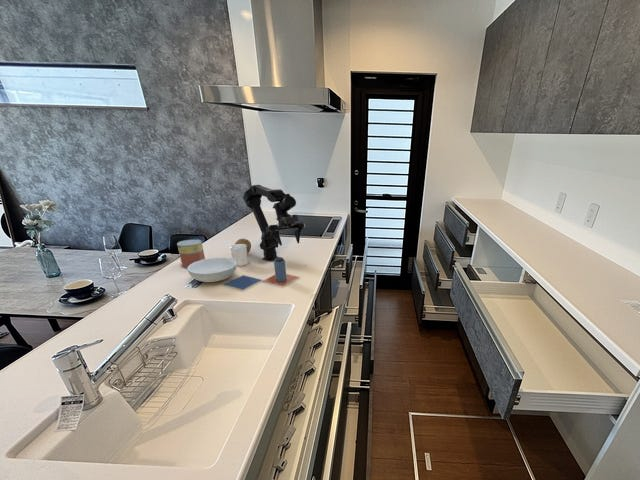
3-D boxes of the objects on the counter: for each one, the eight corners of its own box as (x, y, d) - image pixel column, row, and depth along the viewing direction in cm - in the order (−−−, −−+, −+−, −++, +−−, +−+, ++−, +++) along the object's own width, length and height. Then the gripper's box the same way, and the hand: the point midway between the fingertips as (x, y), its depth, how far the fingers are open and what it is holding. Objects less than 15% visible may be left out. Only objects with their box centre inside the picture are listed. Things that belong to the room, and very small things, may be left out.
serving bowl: (182, 288, 134) (179, 274, 132) (199, 270, 153) (196, 257, 151) (232, 286, 138) (230, 272, 135) (242, 269, 157) (240, 256, 154)
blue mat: (223, 285, 138) (223, 284, 138) (243, 276, 149) (243, 275, 148) (243, 290, 134) (242, 289, 134) (262, 280, 144) (262, 279, 144)
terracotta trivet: (262, 282, 143) (262, 281, 143) (279, 273, 153) (279, 272, 153) (282, 287, 138) (282, 286, 138) (298, 277, 148) (298, 277, 148)
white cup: (251, 262, 166) (249, 244, 162) (241, 267, 159) (239, 249, 155) (240, 260, 168) (237, 243, 164) (229, 265, 162) (226, 247, 158)
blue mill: (273, 281, 143) (271, 259, 139) (280, 277, 147) (278, 256, 143) (282, 283, 141) (279, 260, 137) (288, 279, 145) (286, 257, 141)
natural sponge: (242, 259, 171) (239, 241, 167) (232, 255, 175) (229, 239, 171) (255, 254, 178) (253, 238, 174) (245, 251, 182) (243, 235, 178)
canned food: (184, 261, 165) (179, 240, 160) (207, 259, 168) (203, 238, 163) (179, 268, 155) (174, 246, 150) (204, 266, 158) (199, 244, 154)
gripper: (269, 209, 139) (277, 242, 139) (305, 207, 150) (313, 238, 150) (262, 217, 148) (269, 248, 148) (297, 215, 159) (304, 243, 159)
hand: (290, 244), depth 151 cm, fingers open, 9 cm apart
